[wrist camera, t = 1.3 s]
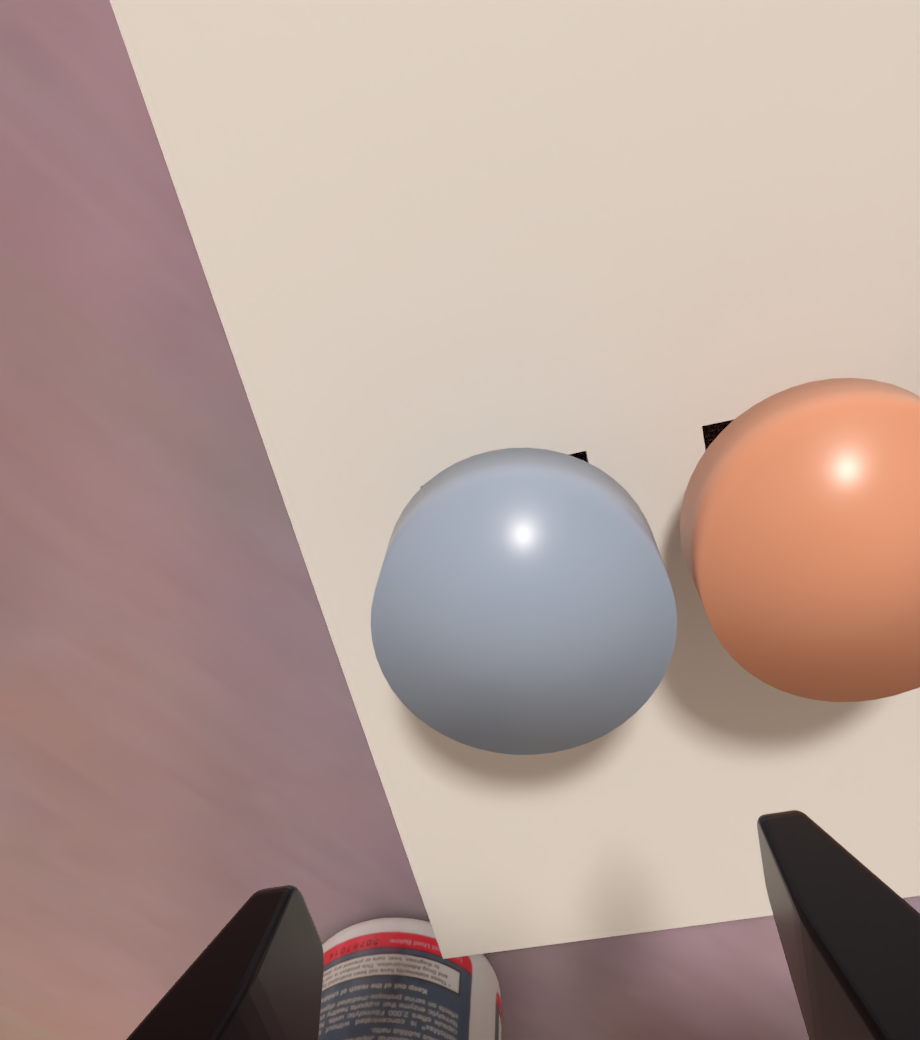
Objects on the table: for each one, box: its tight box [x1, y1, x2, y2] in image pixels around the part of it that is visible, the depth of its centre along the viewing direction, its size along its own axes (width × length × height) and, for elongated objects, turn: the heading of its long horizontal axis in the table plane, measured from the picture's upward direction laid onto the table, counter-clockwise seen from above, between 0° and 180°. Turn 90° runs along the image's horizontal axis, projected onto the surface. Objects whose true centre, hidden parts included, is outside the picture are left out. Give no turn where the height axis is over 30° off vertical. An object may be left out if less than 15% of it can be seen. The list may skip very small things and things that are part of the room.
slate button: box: [371, 448, 677, 755], centre depth 15 cm, size 5×5×4 cm
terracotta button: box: [680, 378, 920, 702], centre depth 14 cm, size 5×5×4 cm
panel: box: [110, 0, 920, 959], centre depth 16 cm, size 18×20×2 cm
